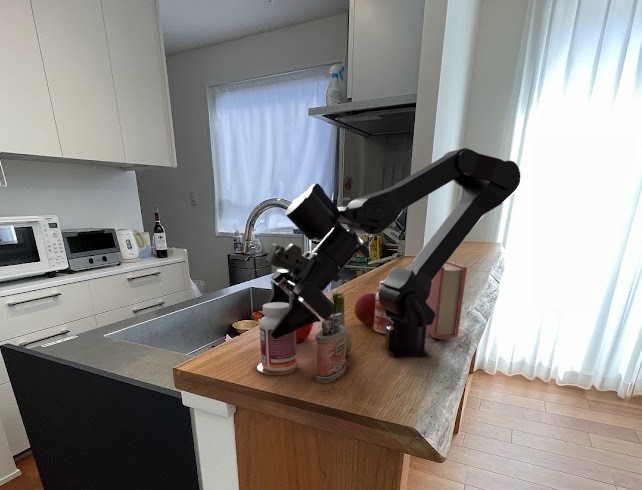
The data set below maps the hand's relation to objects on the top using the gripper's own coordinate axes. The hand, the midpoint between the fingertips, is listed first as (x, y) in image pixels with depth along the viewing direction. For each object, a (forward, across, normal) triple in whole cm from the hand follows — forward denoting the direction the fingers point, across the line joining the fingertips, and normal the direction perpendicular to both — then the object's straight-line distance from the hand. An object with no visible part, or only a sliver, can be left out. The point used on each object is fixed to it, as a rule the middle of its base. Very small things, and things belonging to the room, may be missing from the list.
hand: (266, 329), depth 65 cm
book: (-27, -10, +27) cm, 40 cm away
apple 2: (-17, -17, +24) cm, 34 cm away
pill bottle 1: (+4, 0, +6) cm, 7 cm away
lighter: (-2, +6, +12) cm, 13 cm away
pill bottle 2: (-17, -13, +27) cm, 34 cm away
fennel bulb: (-5, -3, +16) cm, 17 cm away
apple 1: (-1, -15, +12) cm, 19 cm away
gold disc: (+4, 0, +6) cm, 7 cm away
